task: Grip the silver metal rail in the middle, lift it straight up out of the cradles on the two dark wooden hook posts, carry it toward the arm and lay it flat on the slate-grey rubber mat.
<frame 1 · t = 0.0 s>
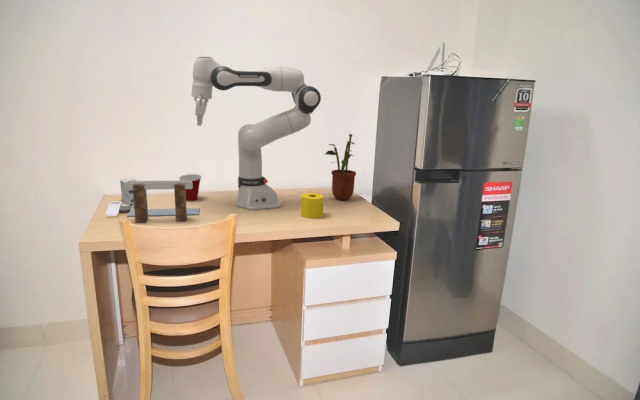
hand: (199, 124, 192), 39 cm above the table, tool pointing down, fingers open, 8 cm apart
slate mat: (164, 213, 189), on the table
light bulb box: (132, 202, 203), on the table
yellow hollow cylinder: (311, 215, 195), on the table
hook posts: (161, 220, 179), on the table
potted plant: (338, 199, 224), on the table
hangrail: (160, 188, 176), point 14 cm above the table, touching hook posts
plastic cup: (191, 199, 212), on the table
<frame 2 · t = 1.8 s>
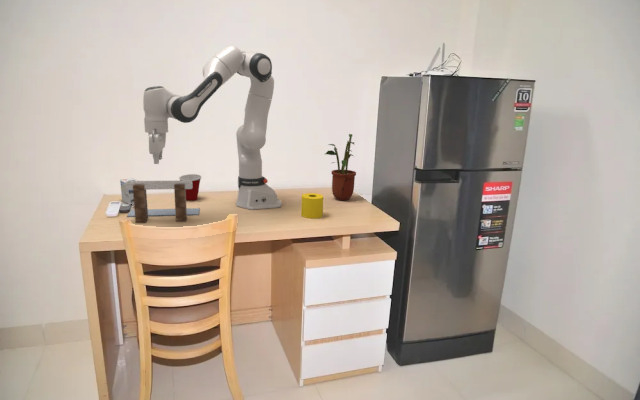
hand: (158, 161, 172), 25 cm above the table, tool pointing down, fingers open, 8 cm apart
nothing on the table moved.
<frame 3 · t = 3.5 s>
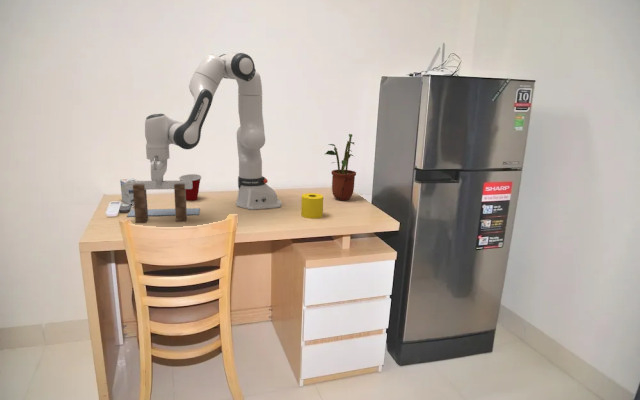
hand: (160, 186, 175), 15 cm above the table, tool pointing down, fingers closed on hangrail, 3 cm apart
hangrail: (160, 188, 176), point 14 cm above the table, touching gripper, hook posts
everything else where it was.
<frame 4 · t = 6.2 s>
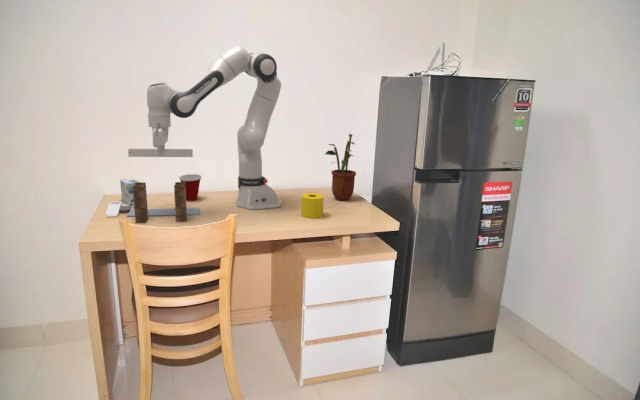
hand: (161, 154, 181), 27 cm above the table, tool pointing down, fingers closed on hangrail, 3 cm apart
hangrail: (161, 156, 182), point 26 cm above the table, touching gripper
everything else where it was.
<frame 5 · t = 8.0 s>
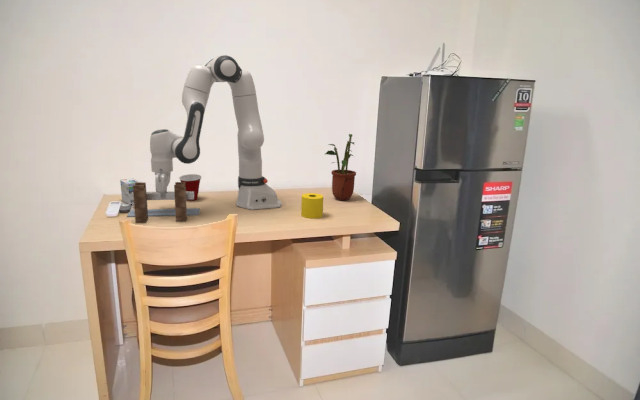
hand: (163, 197, 187), 7 cm above the table, tool pointing down, fingers closed on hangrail, 3 cm apart
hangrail: (163, 199, 187), point 7 cm above the table, touching gripper
everything else where it was.
when the fingers open (3 cm above the table, at t = 9.2 s): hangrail drops 2 cm, resting on slate mat.
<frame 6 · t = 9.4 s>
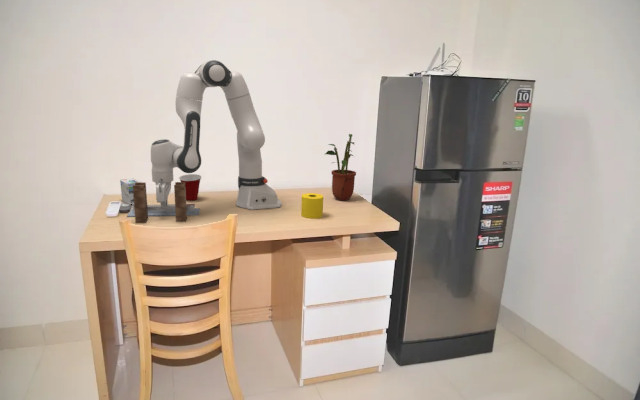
hand: (164, 206, 188), 3 cm above the table, tool pointing down, fingers open, 5 cm apart
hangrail: (164, 211, 189), point 1 cm above the table, touching slate mat
everything else where it was.
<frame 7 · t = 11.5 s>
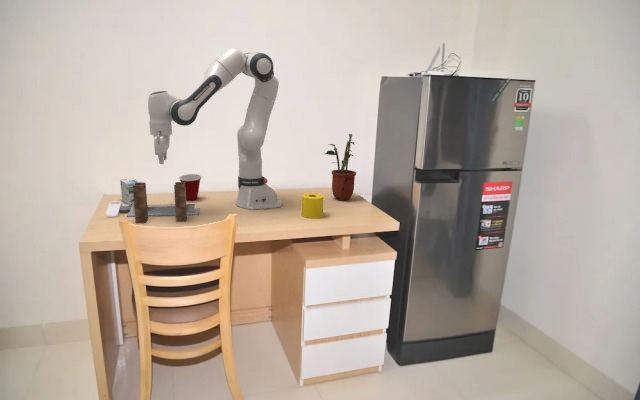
hand: (163, 161, 183), 23 cm above the table, tool pointing down, fingers open, 8 cm apart
nothing on the table moved.
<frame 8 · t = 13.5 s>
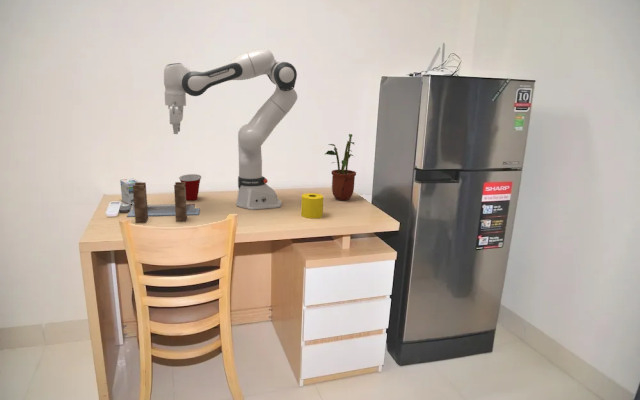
hand: (176, 132, 189), 35 cm above the table, tool pointing down, fingers open, 8 cm apart
nothing on the table moved.
at the end: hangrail inside the target area on the slate mat (0.0 cm from its centre), point 0.6 cm above the slate mat's base; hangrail tilted 0°; the gripper is holding nothing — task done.
